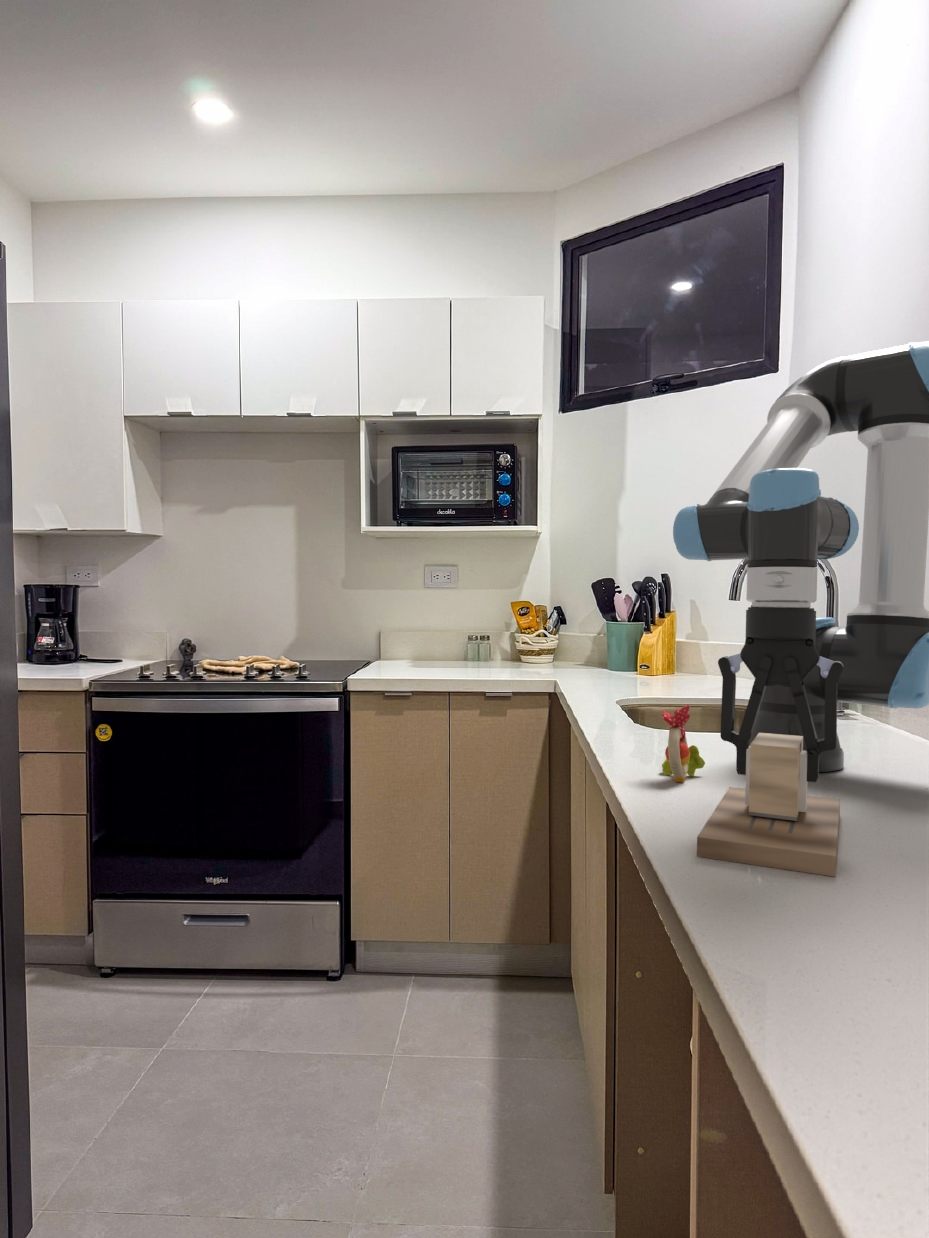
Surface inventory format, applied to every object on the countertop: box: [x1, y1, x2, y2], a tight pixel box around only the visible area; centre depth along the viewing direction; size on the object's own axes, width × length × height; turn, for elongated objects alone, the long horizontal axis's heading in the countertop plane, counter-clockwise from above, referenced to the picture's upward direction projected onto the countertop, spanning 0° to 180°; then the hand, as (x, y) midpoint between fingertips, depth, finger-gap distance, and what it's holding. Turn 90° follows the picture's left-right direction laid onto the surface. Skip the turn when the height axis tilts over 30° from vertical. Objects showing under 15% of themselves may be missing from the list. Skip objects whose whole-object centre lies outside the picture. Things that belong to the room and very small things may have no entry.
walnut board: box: [696, 786, 841, 878], centre depth 90 cm, size 24×13×2 cm, turn 154°
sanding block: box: [749, 733, 803, 821], centre depth 93 cm, size 9×5×8 cm, turn 154°
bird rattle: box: [660, 704, 706, 783], centre depth 117 cm, size 6×11×9 cm
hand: (775, 805), depth 93 cm, fingers closed on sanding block, 5 cm apart
